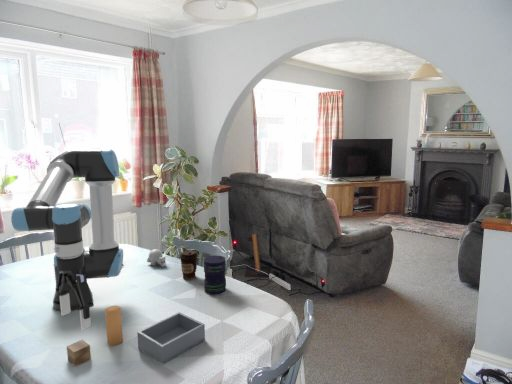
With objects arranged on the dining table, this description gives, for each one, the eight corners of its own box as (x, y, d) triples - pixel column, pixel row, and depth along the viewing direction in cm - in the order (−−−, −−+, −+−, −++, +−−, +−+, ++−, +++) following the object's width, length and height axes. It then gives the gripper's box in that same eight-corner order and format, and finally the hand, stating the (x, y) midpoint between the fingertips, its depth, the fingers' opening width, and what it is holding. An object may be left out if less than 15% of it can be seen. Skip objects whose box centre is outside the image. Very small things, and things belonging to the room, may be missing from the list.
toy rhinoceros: (157, 273, 197) (160, 260, 194) (144, 261, 203) (147, 248, 200) (168, 269, 203) (171, 256, 199) (155, 257, 209) (158, 244, 205)
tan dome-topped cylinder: (106, 346, 127) (104, 313, 125) (108, 338, 131) (105, 306, 129) (122, 344, 128) (120, 311, 126) (123, 336, 133) (121, 305, 131)
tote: (163, 364, 117) (162, 346, 116) (138, 348, 125) (137, 331, 125) (204, 340, 130) (204, 324, 129) (180, 327, 139) (179, 312, 138)
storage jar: (208, 296, 164) (207, 264, 161) (201, 288, 172) (200, 257, 170) (229, 292, 168) (229, 260, 166) (221, 284, 177) (220, 254, 174)
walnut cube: (75, 366, 116) (73, 352, 115) (68, 360, 119) (66, 346, 118) (91, 359, 120) (89, 345, 119) (83, 353, 123) (82, 339, 122)
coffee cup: (194, 281, 180) (193, 256, 178) (178, 280, 182) (177, 254, 179) (200, 275, 188) (199, 250, 186) (185, 273, 190) (184, 249, 188)
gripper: (40, 250, 119) (46, 312, 122) (76, 267, 103) (82, 339, 106) (64, 244, 124) (69, 304, 128) (102, 260, 109) (107, 328, 112)
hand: (75, 320), depth 117 cm, fingers open, 13 cm apart
